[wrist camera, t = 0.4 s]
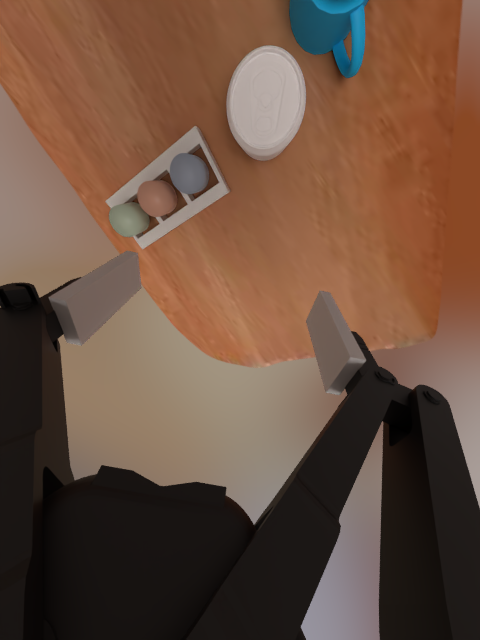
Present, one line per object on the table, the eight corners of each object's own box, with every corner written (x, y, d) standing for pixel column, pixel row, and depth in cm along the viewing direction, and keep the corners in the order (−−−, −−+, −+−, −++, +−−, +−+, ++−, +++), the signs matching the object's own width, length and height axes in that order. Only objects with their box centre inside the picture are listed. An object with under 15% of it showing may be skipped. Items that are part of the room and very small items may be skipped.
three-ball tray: (113, 199, 38) (105, 201, 36) (199, 128, 31) (195, 125, 29) (148, 245, 42) (142, 249, 40) (230, 191, 35) (228, 192, 33)
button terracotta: (143, 190, 34) (130, 192, 31) (164, 173, 32) (154, 173, 29) (161, 218, 36) (152, 222, 33) (183, 203, 34) (175, 206, 31)
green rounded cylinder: (116, 211, 36) (102, 215, 33) (135, 196, 34) (123, 198, 31) (136, 236, 38) (124, 242, 35) (154, 223, 36) (144, 228, 33)
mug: (278, -22, 24) (283, -100, 17) (355, -96, 21) (399, -224, 14) (312, 108, 29) (327, 89, 22) (377, 63, 26) (416, 26, 20)
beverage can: (298, 85, 28) (317, 37, 18) (288, 161, 33) (299, 156, 23) (237, 84, 28) (223, 37, 19) (236, 160, 33) (224, 154, 23)
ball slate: (172, 167, 32) (162, 166, 28) (197, 147, 30) (189, 144, 27) (191, 198, 34) (183, 200, 31) (215, 181, 32) (209, 182, 29)
